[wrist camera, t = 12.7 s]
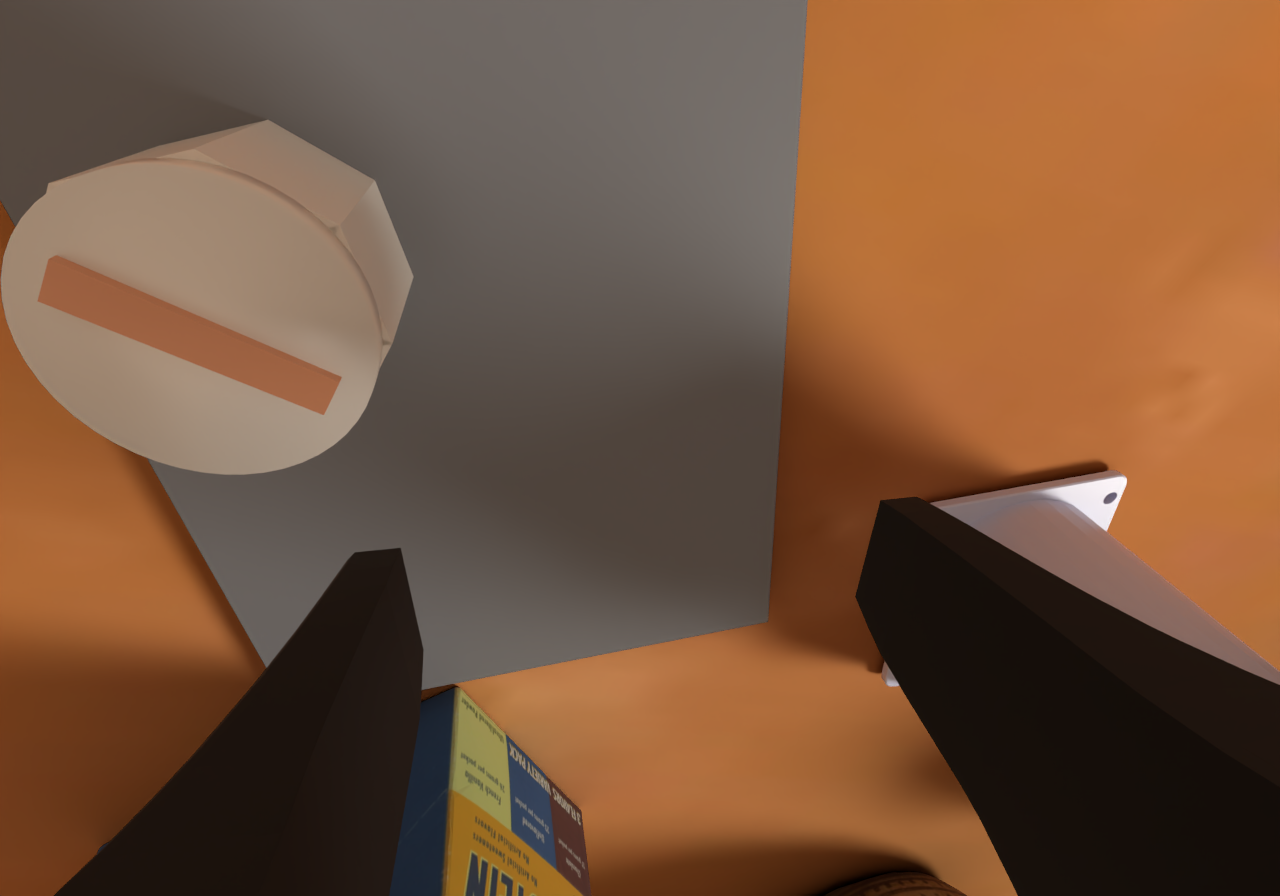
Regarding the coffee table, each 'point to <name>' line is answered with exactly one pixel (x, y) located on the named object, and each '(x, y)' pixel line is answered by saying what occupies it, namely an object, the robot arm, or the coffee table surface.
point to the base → (491, 295)
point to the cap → (210, 298)
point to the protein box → (483, 814)
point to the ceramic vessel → (898, 886)
